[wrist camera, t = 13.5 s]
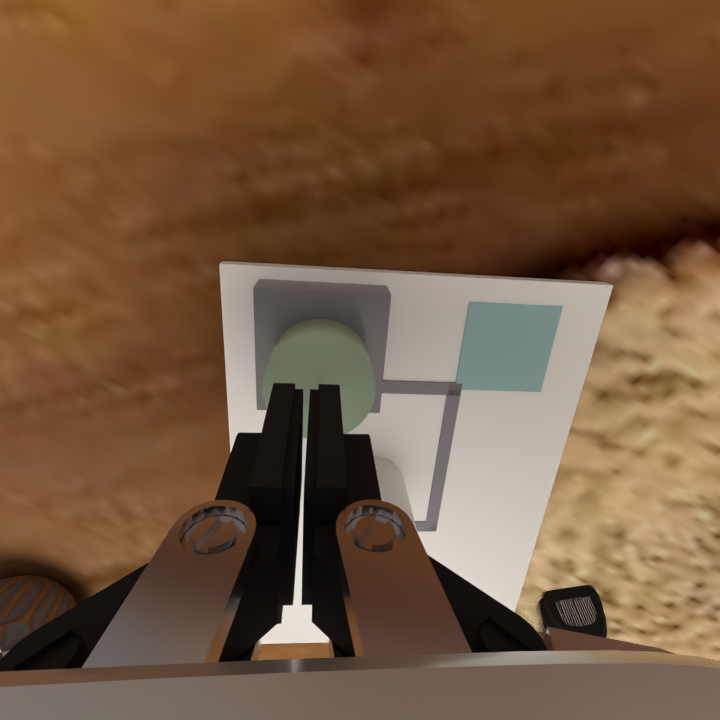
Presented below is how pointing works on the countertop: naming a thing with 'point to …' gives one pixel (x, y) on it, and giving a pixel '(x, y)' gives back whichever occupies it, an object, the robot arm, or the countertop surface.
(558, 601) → the electric trimmer
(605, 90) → the countertop surface
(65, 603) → the vase
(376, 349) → the button housing
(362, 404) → the button
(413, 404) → the sheet
